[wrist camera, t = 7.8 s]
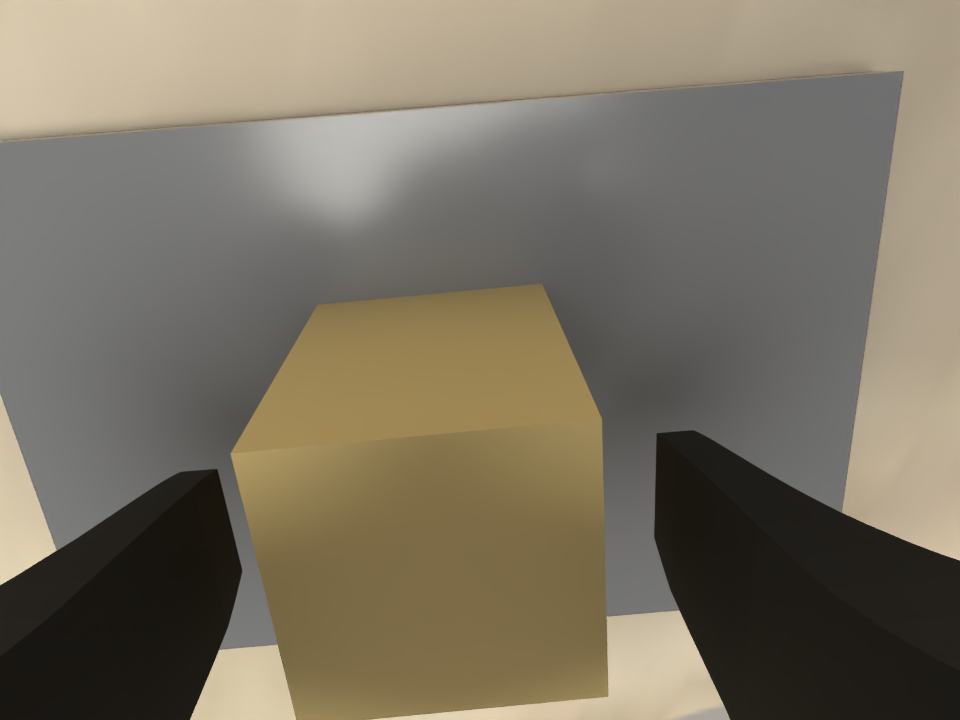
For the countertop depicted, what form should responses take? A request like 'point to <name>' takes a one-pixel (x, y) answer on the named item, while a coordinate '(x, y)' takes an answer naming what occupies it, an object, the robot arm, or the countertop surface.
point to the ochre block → (430, 508)
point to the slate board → (451, 280)
